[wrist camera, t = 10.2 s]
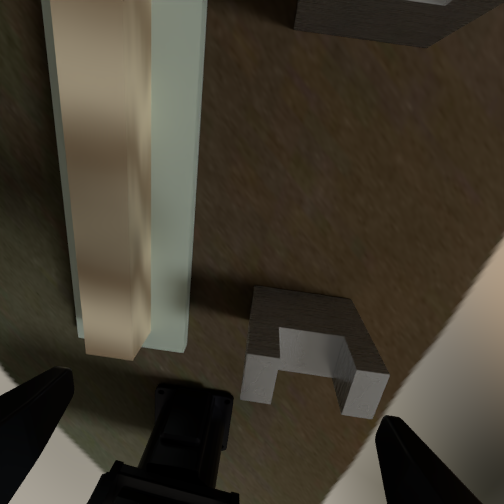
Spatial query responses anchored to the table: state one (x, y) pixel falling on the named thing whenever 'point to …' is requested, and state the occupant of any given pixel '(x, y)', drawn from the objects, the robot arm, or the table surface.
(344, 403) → the steel stands
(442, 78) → the table surface
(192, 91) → the sage board
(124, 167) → the birch rail
